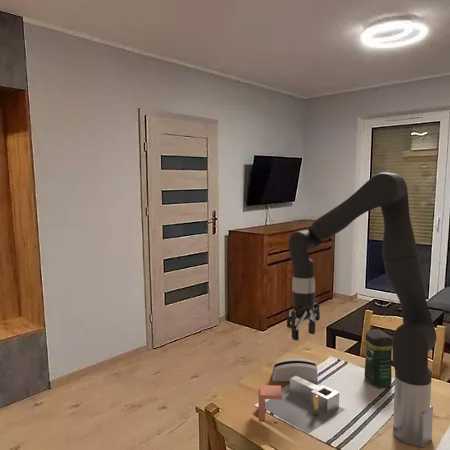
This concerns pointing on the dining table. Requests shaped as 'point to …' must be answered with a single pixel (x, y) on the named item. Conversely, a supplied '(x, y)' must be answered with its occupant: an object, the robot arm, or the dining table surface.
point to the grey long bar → (308, 390)
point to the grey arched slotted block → (294, 370)
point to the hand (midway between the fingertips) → (303, 336)
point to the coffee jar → (378, 358)
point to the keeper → (267, 397)
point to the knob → (316, 406)
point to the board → (298, 412)
